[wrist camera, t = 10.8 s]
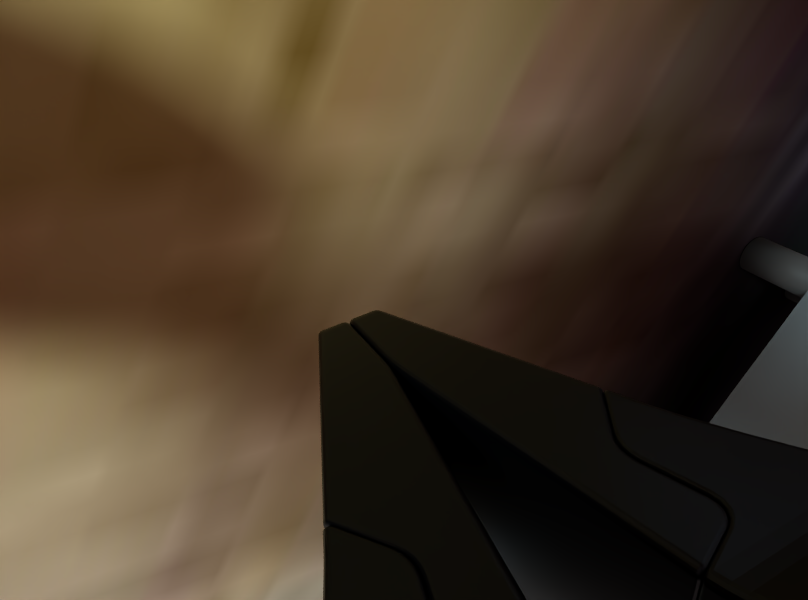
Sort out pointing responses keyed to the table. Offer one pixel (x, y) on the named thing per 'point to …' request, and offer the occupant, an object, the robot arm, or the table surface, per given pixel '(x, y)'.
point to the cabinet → (775, 356)
